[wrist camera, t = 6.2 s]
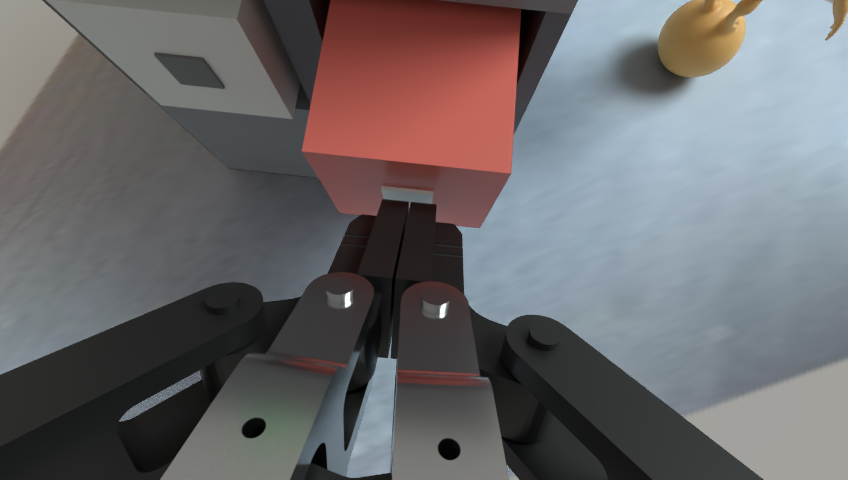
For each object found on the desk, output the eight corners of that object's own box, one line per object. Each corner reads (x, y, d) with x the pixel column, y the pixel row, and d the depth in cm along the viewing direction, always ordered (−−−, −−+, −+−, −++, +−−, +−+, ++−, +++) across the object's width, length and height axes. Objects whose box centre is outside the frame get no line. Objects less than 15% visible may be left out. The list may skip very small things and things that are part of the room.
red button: (491, 73, 15) (524, -41, 11) (479, 230, 14) (510, 177, 9) (364, 60, 16) (341, -59, 11) (339, 215, 14) (301, 155, 9)
